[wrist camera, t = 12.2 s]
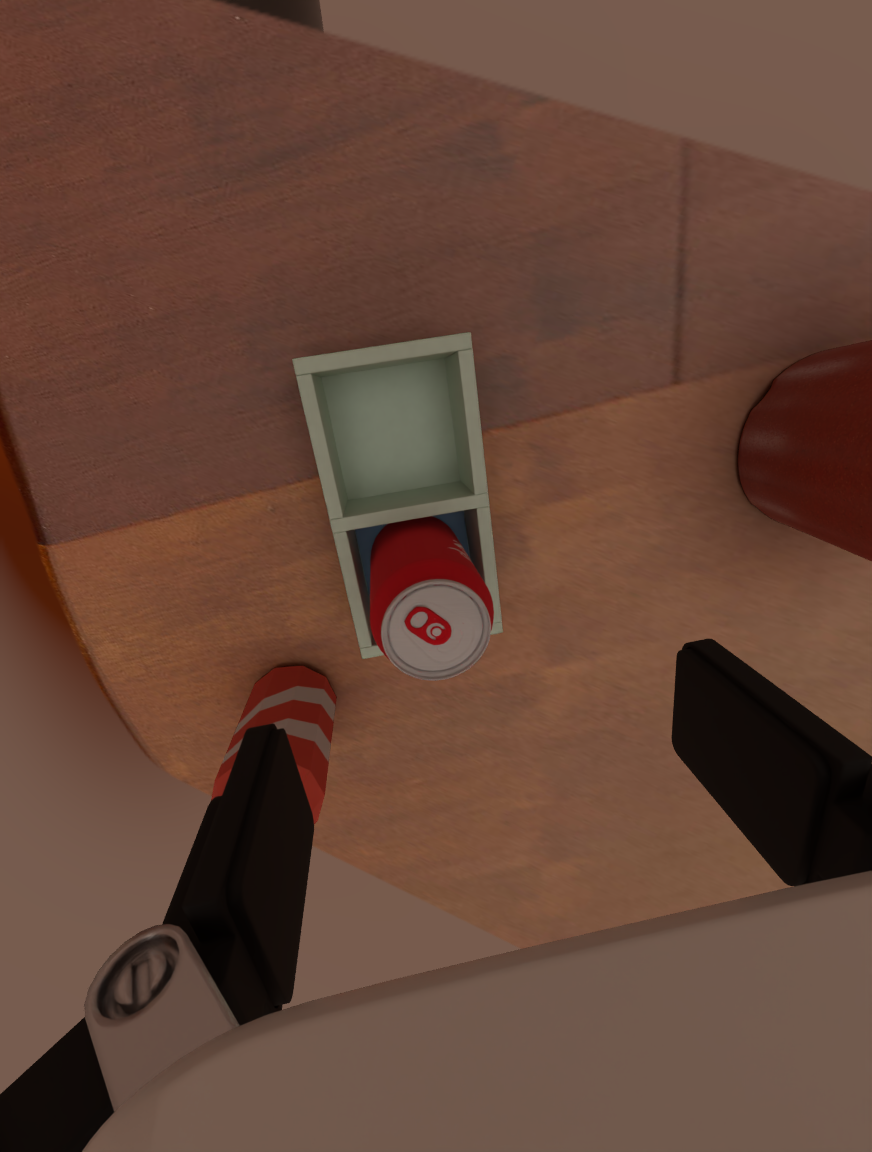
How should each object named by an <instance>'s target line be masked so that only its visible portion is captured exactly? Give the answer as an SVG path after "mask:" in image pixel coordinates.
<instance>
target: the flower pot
mask: <svg viewBox="0 0 872 1152" xmlns="http://www.w3.org/2000/svg"><path fill="white" fill-rule="evenodd" d="M738 469H739V477H740V481H741V485H742V487H743V490H744V493H745V494H746V496H747V498H748V499H749V501H750V502H751V504H753V505H754V506H756V507H757V508H758V509H759V510H760V511H762V512H763V513H764V514H765V515H767V516H768V517H770V518H771V519H773V520H775V521H778V522H780V523H783V524H785V525H788V526H790V527H792V528H795V529H797V530H800V531H802V532H804V533H807V534H809V535H812V536H814V537H816V538H819V539H821V540H823V541H826V542H828V543H830V544H833V545H835V546H837V547H840V548H842V549H844V550H847V551H849V552H851V553H853V554H856V555H858V556H860V557H863V558H865V559H868V560H870V561H872V340H870V341H866V342H861V343H856V344H852V345H847V346H842V347H838V348H833V349H828V350H824V351H820V352H818V353H815V354H812V355H810V356H808V357H806V358H804V359H801V360H800V361H798V362H796V363H794V364H793V365H791V366H790V367H789V368H787V369H786V370H785V371H783V372H782V373H781V374H780V375H779V376H778V377H776V378H775V379H774V380H773V382H772V386H771V388H770V390H769V391H768V393H767V394H766V395H765V397H764V398H763V399H762V400H761V401H760V402H759V404H758V405H757V406H755V407H754V408H753V409H752V411H751V412H750V414H749V416H748V419H747V421H746V423H745V426H744V429H743V432H742V436H741V440H740V445H739V453H738Z"/></svg>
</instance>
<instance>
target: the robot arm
mask: <svg viewBox="0 0 872 1152" xmlns="http://www.w3.org/2000/svg"><path fill="white" fill-rule="evenodd" d="M672 744H673V747H674V749H675V751H676V753H677V755H678V756H679V757H680V758H681V760H682V761H683V762H684V763H685V764H686V766H687V767H688V768H689V769H690V770H691V772H692V773H693V774H694V775H695V776H696V778H697V779H698V780H699V781H700V782H701V784H702V785H703V786H704V787H705V788H706V790H707V791H708V792H709V793H710V794H711V796H712V797H713V798H714V799H715V800H716V802H717V803H718V804H719V805H720V806H721V808H722V809H723V810H724V811H725V812H726V814H727V815H728V816H729V817H730V818H731V820H732V821H733V822H734V823H735V824H736V826H737V827H738V828H739V829H740V830H741V832H742V833H743V834H744V835H745V836H746V838H747V839H748V840H749V841H750V842H751V844H752V845H753V846H754V847H755V848H756V850H757V851H758V852H759V853H760V854H761V856H762V857H763V858H764V859H765V860H766V862H767V863H768V864H769V865H770V866H771V868H772V869H773V870H774V871H775V872H776V874H777V875H778V876H779V877H780V878H781V879H782V880H783V881H784V882H785V883H786V884H787V885H790V886H794V887H790V888H785V889H781V890H777V891H772V892H768V893H763V894H759V895H754V896H750V897H745V898H741V899H737V900H732V901H728V902H723V903H719V904H714V905H710V906H706V907H701V908H697V909H692V910H688V911H683V912H679V913H675V914H670V915H666V916H662V917H657V918H653V919H649V920H644V921H640V922H636V923H631V924H627V925H623V926H618V927H614V928H610V929H605V930H601V931H597V932H592V933H588V934H584V935H580V936H575V937H571V938H567V939H562V940H558V941H554V942H549V943H545V944H541V945H537V946H532V947H528V948H524V949H520V950H515V951H511V952H507V953H503V954H499V955H495V956H490V957H486V958H482V959H478V960H473V961H470V962H465V963H461V964H457V965H452V966H449V967H444V968H440V969H436V970H432V971H427V972H423V973H419V974H415V975H411V976H407V977H403V978H398V979H394V980H390V981H386V982H382V983H379V984H375V985H371V986H367V987H363V988H359V989H355V990H351V991H348V992H344V993H340V994H336V995H332V996H328V997H324V998H320V999H317V1000H313V1001H309V1002H306V1003H303V1004H300V1005H297V1006H293V1007H290V1008H287V1009H284V1010H282V1004H286V1003H290V1001H291V999H292V995H293V989H294V981H295V973H296V965H297V957H298V950H299V942H300V935H301V926H302V918H303V911H304V903H305V896H306V888H307V880H308V872H309V865H310V857H311V849H312V841H313V834H314V819H313V814H312V810H311V807H310V804H309V801H308V798H307V795H306V792H305V789H304V786H303V783H302V780H301V777H300V774H299V771H298V767H297V764H296V761H295V758H294V755H293V752H292V749H291V746H290V743H289V740H288V737H287V734H286V731H285V729H284V728H280V729H277V727H276V726H275V724H273V723H272V724H267V725H262V726H256V727H251V728H248V729H247V730H246V732H245V734H244V737H243V739H242V742H241V745H240V748H239V750H238V753H237V756H236V759H235V761H234V764H233V767H232V770H231V772H230V775H229V778H228V781H227V783H226V786H225V789H224V791H223V794H222V796H217V797H215V798H213V799H212V800H211V802H210V804H209V806H208V808H207V810H206V813H205V816H204V818H203V821H202V823H201V826H200V829H199V831H198V834H197V836H196V839H195V841H194V844H193V847H192V849H191V852H190V854H189V857H188V859H187V862H186V865H185V867H184V870H183V872H182V875H181V877H180V880H179V883H178V885H177V888H176V891H175V893H174V895H173V898H172V901H171V903H170V906H169V908H168V911H167V913H166V916H165V919H164V921H163V924H162V925H156V926H153V927H151V928H148V929H146V930H144V931H141V932H139V933H138V934H136V935H135V936H133V937H132V938H130V939H129V940H127V941H126V942H124V944H122V945H121V946H120V947H119V948H118V949H117V950H116V951H115V952H114V953H113V954H112V955H110V957H109V958H108V959H107V961H106V962H105V963H104V964H103V966H102V967H101V968H100V969H99V971H98V973H97V974H96V976H95V978H94V980H93V982H92V984H91V985H90V987H89V990H88V993H87V997H86V1001H85V1004H84V1007H85V1017H84V1018H83V1019H82V1020H81V1021H80V1022H79V1023H78V1024H77V1025H76V1026H74V1028H72V1029H71V1030H70V1031H69V1032H68V1033H67V1034H66V1035H65V1036H64V1037H63V1038H61V1039H60V1040H59V1041H58V1042H57V1043H56V1044H55V1045H54V1046H53V1047H52V1048H50V1049H49V1050H48V1051H47V1052H46V1053H45V1054H44V1055H43V1056H42V1057H41V1058H40V1059H38V1060H37V1061H36V1062H35V1063H34V1064H33V1065H32V1066H31V1067H30V1068H29V1069H28V1070H26V1071H25V1072H24V1073H23V1074H22V1075H21V1076H20V1077H19V1078H18V1079H17V1080H16V1081H15V1082H13V1083H12V1084H11V1085H10V1086H9V1087H8V1088H7V1089H6V1090H5V1091H4V1092H2V1093H1V1094H0V1152H872V764H871V763H872V756H870V755H869V754H868V753H866V752H865V751H864V750H862V749H861V748H860V747H858V746H857V745H856V744H854V743H853V742H851V741H850V740H849V739H847V738H846V737H845V736H843V735H842V734H841V733H839V732H838V731H837V730H835V729H834V728H832V727H831V726H830V725H828V724H827V723H826V722H824V721H823V720H822V719H820V718H819V717H818V716H816V715H815V714H814V713H812V712H811V711H809V710H808V709H807V708H805V707H804V706H803V705H801V704H800V703H799V702H797V701H796V700H795V699H793V698H792V697H791V696H789V695H788V694H786V693H785V692H784V691H782V690H781V689H780V688H778V687H777V686H776V685H774V684H773V683H772V682H770V681H769V680H767V679H766V678H765V677H763V676H762V675H761V674H759V673H758V672H757V671H755V670H754V669H753V668H751V667H750V666H749V665H747V664H746V663H744V662H743V661H742V660H740V659H739V658H738V657H736V656H735V655H734V654H732V653H731V652H730V651H728V650H727V649H725V648H724V647H723V646H721V645H720V644H719V643H717V642H716V641H714V640H712V639H704V640H699V641H694V642H689V643H686V644H684V646H683V648H682V650H680V651H679V652H678V653H677V660H676V676H675V693H674V709H673V725H672Z"/></svg>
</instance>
